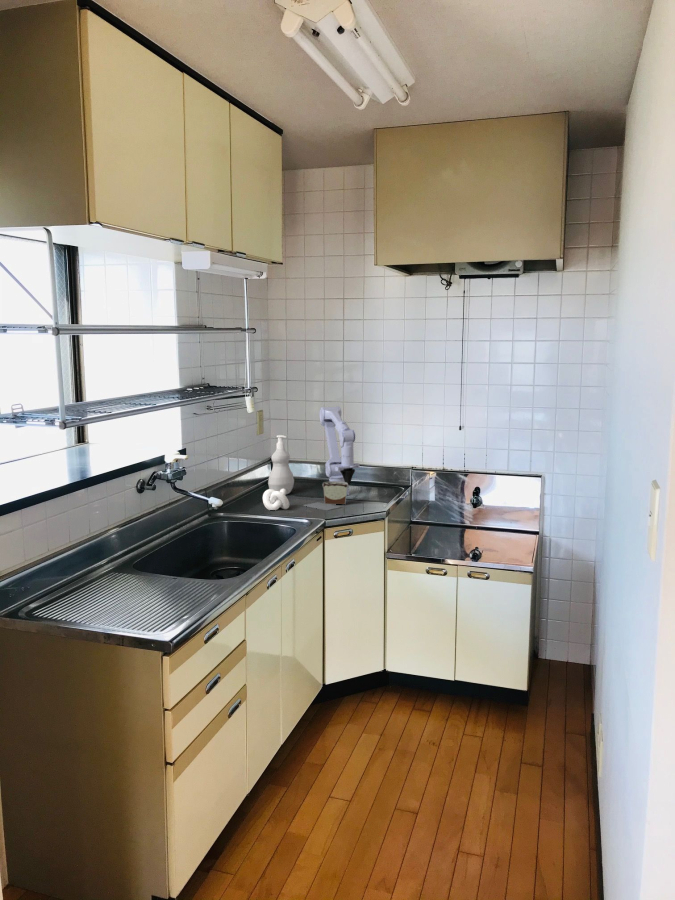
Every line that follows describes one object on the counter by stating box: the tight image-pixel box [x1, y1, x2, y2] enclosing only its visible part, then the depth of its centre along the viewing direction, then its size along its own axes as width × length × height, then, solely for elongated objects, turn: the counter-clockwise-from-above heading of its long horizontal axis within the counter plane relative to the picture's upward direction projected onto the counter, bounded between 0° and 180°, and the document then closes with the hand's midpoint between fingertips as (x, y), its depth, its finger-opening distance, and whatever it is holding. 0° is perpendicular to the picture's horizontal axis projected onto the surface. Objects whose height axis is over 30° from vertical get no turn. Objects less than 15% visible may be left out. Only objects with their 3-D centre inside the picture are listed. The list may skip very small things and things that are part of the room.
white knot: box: [262, 488, 290, 511], centre depth 322 cm, size 11×12×9 cm
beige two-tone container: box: [321, 480, 350, 506], centre depth 331 cm, size 12×6×10 cm, turn 84°
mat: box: [302, 501, 341, 512], centre depth 325 cm, size 9×16×1 cm, turn 46°
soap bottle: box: [267, 434, 295, 495], centre depth 356 cm, size 17×12×29 cm
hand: (347, 484), depth 336 cm, fingers closed
